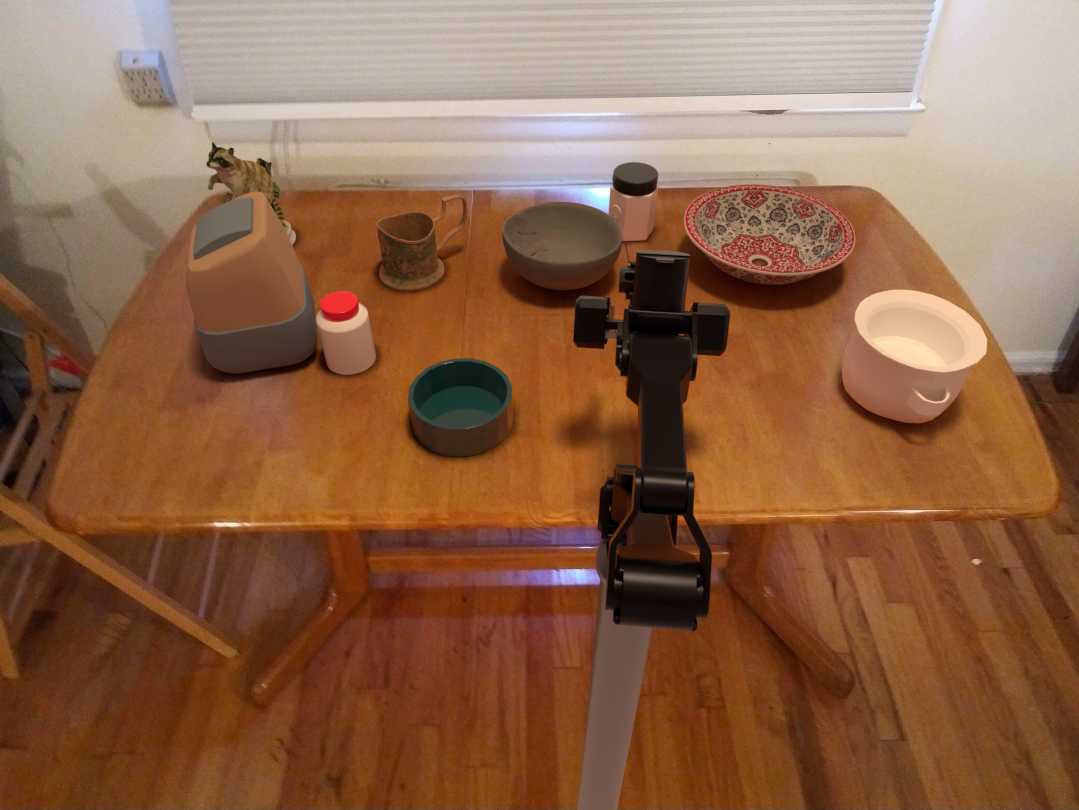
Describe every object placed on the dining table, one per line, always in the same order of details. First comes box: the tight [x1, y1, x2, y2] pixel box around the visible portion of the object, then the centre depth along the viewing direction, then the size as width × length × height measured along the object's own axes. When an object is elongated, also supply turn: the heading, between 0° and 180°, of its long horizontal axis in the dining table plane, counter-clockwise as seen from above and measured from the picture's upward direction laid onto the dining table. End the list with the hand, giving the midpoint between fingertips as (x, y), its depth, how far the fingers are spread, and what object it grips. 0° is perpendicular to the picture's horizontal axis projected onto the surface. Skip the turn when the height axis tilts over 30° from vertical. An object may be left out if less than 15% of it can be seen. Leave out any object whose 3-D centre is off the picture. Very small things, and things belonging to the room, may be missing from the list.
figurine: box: [205, 141, 297, 246], centre depth 139 cm, size 12×14×20 cm
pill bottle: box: [315, 290, 377, 376], centre depth 118 cm, size 8×8×11 cm
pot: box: [841, 289, 988, 424], centre depth 113 cm, size 22×17×12 cm
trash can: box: [185, 192, 318, 374], centre depth 117 cm, size 17×17×23 cm
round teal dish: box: [407, 357, 514, 458], centre depth 111 cm, size 14×14×6 cm
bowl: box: [501, 201, 623, 291], centre depth 134 cm, size 20×20×10 cm
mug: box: [375, 194, 469, 292], centre depth 136 cm, size 12×18×12 cm, turn 124°
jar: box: [607, 161, 660, 242], centre depth 145 cm, size 9×8×12 cm
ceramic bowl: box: [683, 183, 856, 286], centre depth 138 cm, size 29×29×8 cm
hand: (647, 312), depth 104 cm, fingers open, 9 cm apart
